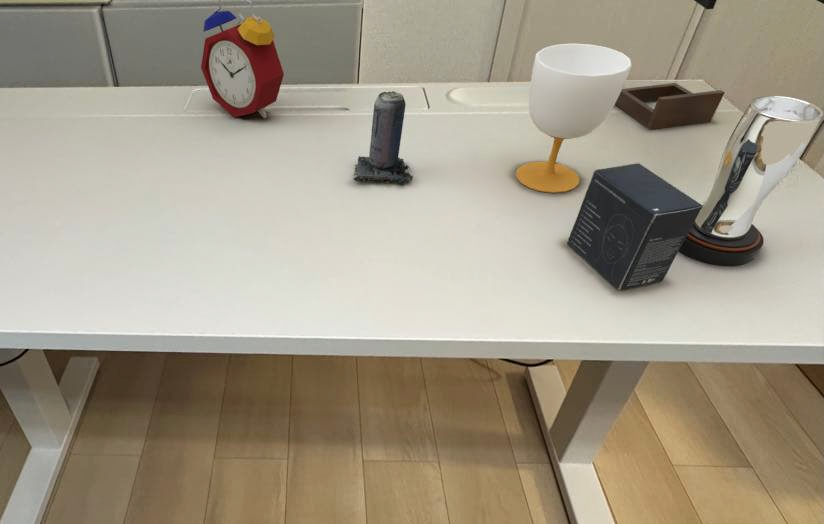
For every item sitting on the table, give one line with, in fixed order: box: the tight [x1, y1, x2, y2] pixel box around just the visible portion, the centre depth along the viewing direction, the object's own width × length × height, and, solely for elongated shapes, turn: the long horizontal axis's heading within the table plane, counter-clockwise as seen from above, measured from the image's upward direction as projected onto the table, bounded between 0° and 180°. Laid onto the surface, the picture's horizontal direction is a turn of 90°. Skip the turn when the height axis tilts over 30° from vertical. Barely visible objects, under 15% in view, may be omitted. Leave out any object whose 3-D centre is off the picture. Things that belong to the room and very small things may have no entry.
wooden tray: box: [614, 82, 725, 130], centre depth 100 cm, size 11×11×5 cm
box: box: [566, 162, 703, 291], centre depth 70 cm, size 11×7×10 cm, turn 15°
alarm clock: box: [200, 0, 285, 119], centre depth 103 cm, size 15×9×20 cm, turn 50°
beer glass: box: [693, 95, 824, 240], centre depth 68 cm, size 7×7×15 cm
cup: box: [515, 42, 633, 194], centre depth 82 cm, size 12×12×17 cm
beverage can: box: [352, 90, 414, 185], centre depth 87 cm, size 9×8×12 cm
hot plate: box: [678, 223, 765, 267], centre depth 74 cm, size 10×10×2 cm
